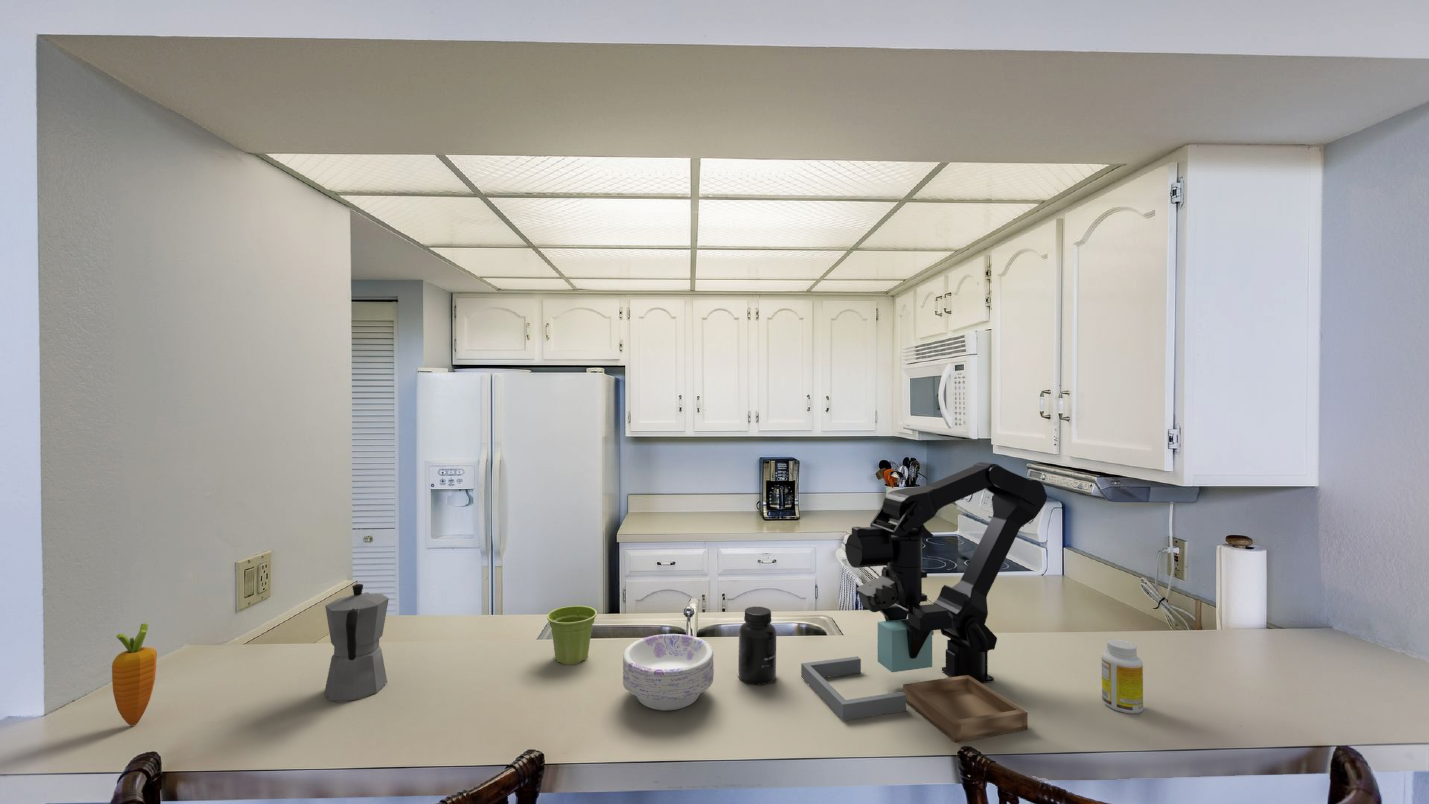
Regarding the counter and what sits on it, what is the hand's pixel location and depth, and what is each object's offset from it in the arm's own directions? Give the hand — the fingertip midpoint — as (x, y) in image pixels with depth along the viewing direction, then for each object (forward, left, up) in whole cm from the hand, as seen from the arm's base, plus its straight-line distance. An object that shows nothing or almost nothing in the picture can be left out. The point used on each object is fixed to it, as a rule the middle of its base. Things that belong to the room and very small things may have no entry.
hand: (904, 652), depth 103 cm
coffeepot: (+92, -23, -6) cm, 95 cm away
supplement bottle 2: (-30, +16, -6) cm, 35 cm away
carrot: (+121, -20, -6) cm, 123 cm away
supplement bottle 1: (+24, -10, -6) cm, 27 cm away
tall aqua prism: (0, 0, -2) cm, 2 cm away
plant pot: (+56, -27, -6) cm, 62 cm away
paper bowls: (+41, -7, -6) cm, 42 cm away
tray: (-3, +11, -6) cm, 13 cm away
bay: (+10, 0, -6) cm, 11 cm away
